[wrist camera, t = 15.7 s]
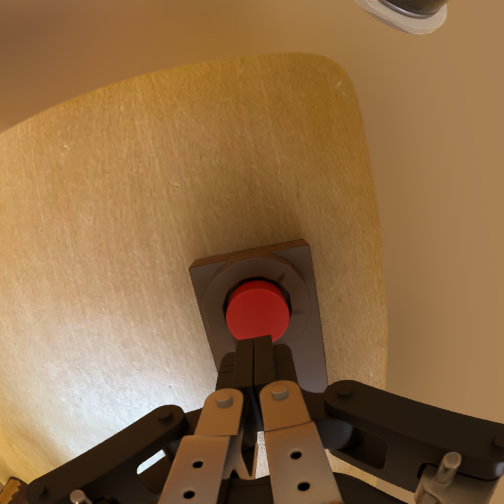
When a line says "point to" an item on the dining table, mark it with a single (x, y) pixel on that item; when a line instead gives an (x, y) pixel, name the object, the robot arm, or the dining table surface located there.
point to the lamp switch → (257, 311)
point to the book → (13, 492)
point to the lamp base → (291, 285)
